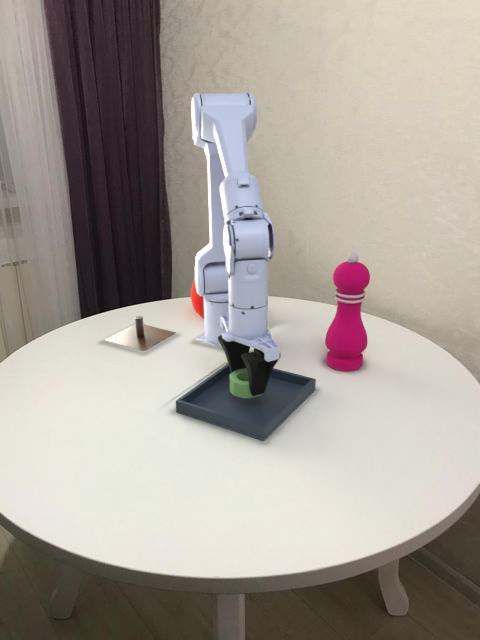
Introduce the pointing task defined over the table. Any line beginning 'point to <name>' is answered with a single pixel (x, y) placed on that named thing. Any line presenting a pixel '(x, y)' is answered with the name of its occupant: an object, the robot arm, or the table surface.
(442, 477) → the table surface
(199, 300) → the tomato
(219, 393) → the tray
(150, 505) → the table surface
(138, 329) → the stand
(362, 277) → the pepper mill
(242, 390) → the ring
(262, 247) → the robot arm
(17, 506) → the table surface
